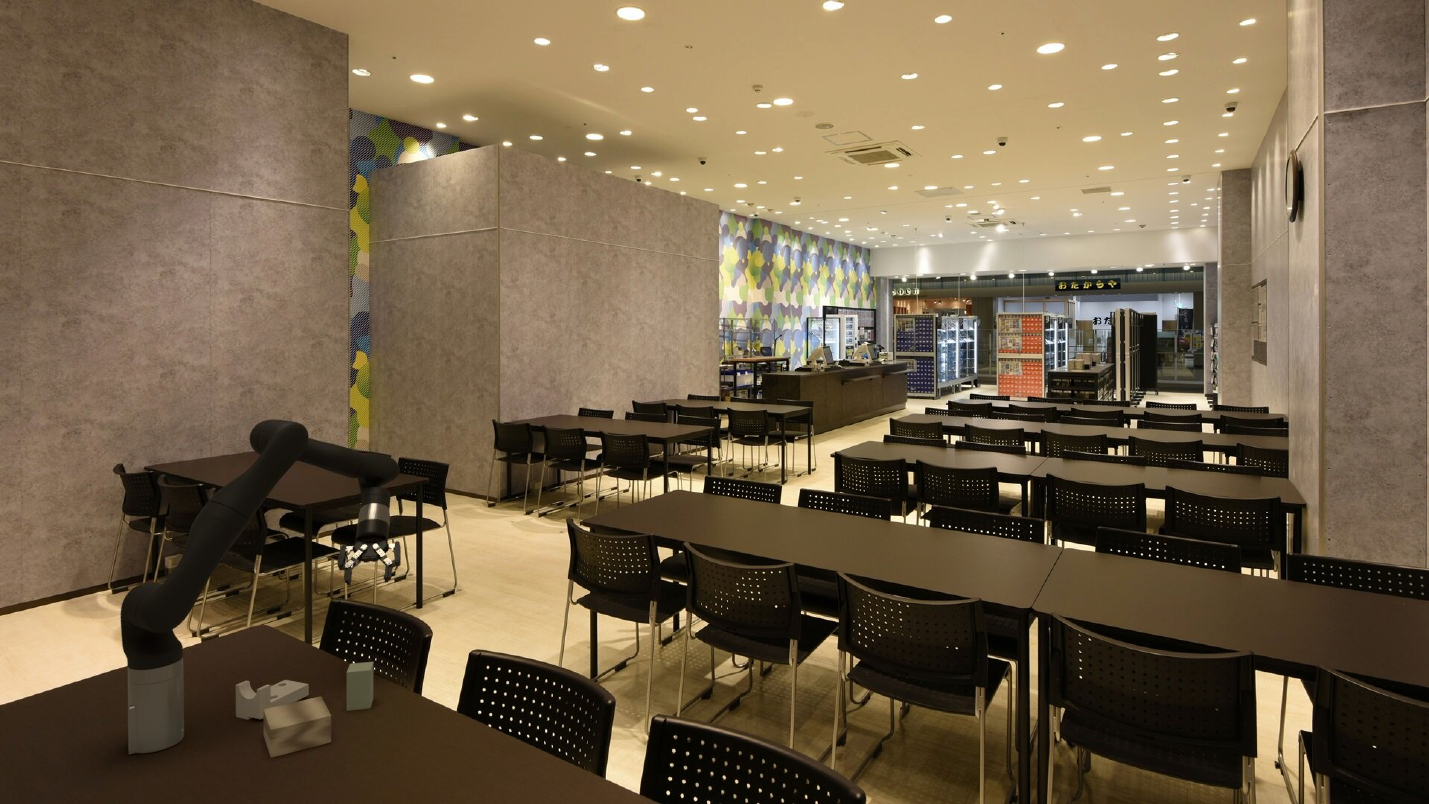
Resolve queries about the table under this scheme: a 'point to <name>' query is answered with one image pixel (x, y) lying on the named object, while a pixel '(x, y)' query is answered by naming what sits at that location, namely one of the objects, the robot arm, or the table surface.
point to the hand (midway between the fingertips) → (367, 582)
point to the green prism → (359, 686)
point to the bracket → (267, 697)
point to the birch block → (297, 726)
